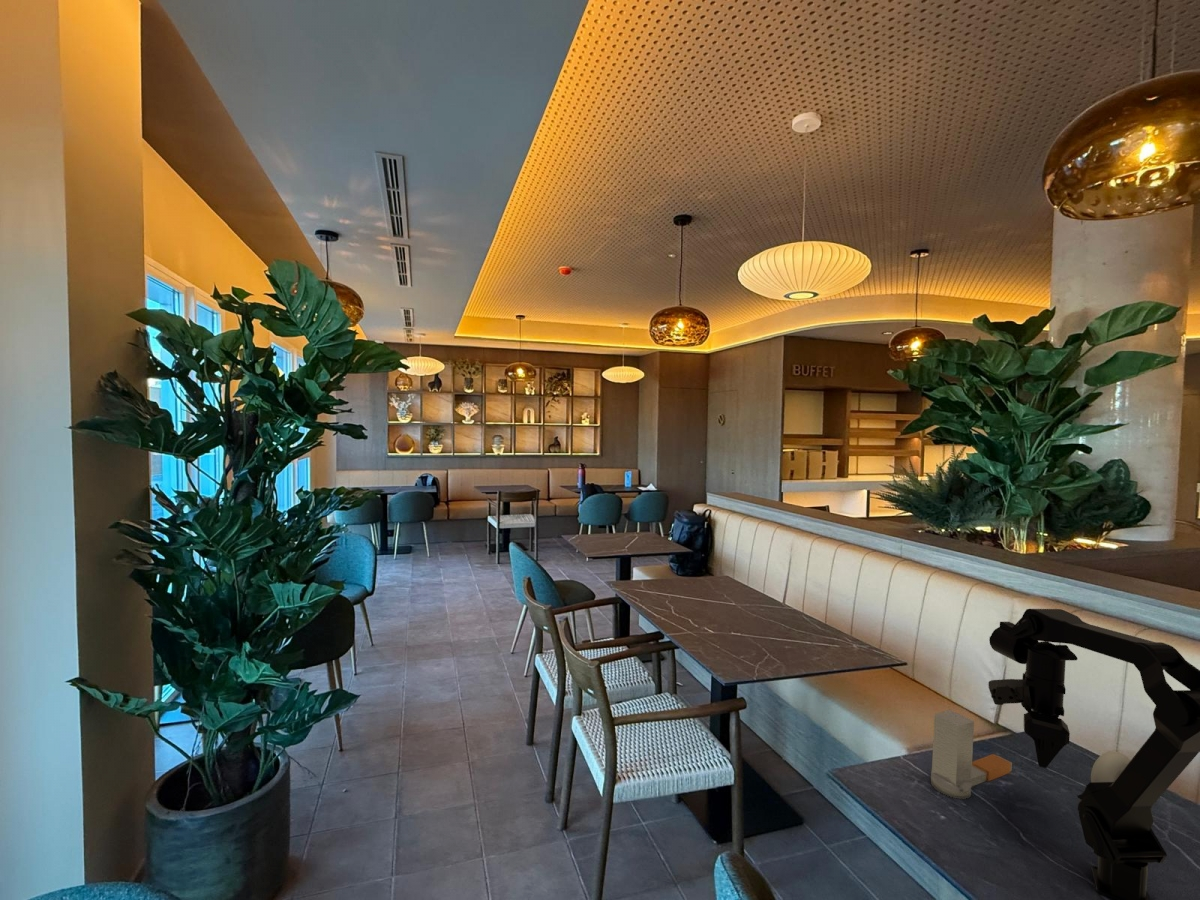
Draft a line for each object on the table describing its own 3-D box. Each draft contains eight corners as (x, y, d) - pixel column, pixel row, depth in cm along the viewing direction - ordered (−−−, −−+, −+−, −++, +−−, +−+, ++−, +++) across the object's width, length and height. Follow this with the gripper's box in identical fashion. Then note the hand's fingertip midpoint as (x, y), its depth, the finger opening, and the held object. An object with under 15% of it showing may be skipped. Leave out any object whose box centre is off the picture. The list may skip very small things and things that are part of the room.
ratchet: (956, 803, 109) (958, 778, 109) (923, 782, 115) (924, 759, 115) (1021, 776, 118) (1022, 753, 118) (987, 758, 125) (988, 736, 125)
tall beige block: (971, 780, 112) (974, 721, 112) (955, 786, 110) (958, 726, 110) (947, 766, 117) (949, 709, 116) (931, 772, 115) (934, 714, 114)
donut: (1104, 810, 108) (1107, 760, 108) (1085, 798, 111) (1087, 750, 111) (1139, 802, 111) (1142, 754, 110) (1119, 791, 114) (1122, 744, 114)
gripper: (992, 648, 115) (988, 721, 116) (992, 679, 100) (988, 762, 101) (1060, 663, 109) (1056, 739, 109) (1072, 698, 94) (1067, 786, 94)
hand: (1040, 755), depth 104 cm, fingers open, 9 cm apart
